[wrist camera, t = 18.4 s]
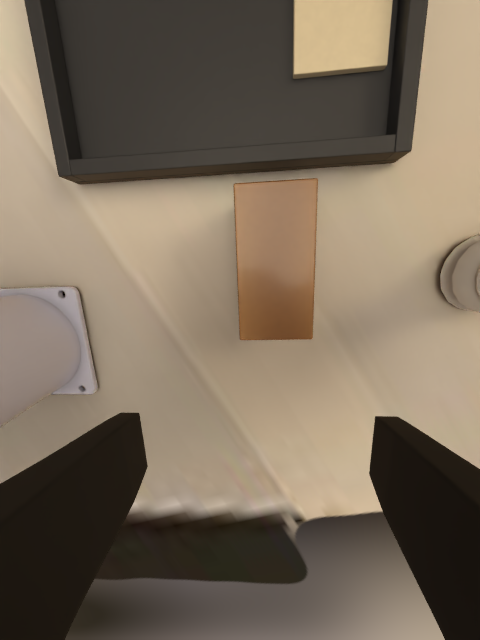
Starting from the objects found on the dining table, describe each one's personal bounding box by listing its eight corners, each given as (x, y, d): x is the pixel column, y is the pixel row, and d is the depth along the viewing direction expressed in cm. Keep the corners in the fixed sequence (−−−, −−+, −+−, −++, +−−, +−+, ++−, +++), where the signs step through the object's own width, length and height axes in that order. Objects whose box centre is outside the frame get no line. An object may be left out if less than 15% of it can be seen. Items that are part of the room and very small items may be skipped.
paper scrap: (292, 79, 13) (293, 74, 13) (293, -35, 12) (294, -45, 12) (383, 70, 13) (387, 64, 12) (393, -49, 12) (398, -59, 11)
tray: (79, 184, 16) (58, 176, 14) (29, -95, 13) (-5, -146, 11) (394, 162, 14) (411, 151, 13) (426, -164, 11) (455, -237, 9)
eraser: (245, 318, 17) (239, 340, 13) (240, 202, 15) (233, 183, 11) (299, 317, 17) (312, 339, 13) (302, 199, 15) (318, 177, 11)
